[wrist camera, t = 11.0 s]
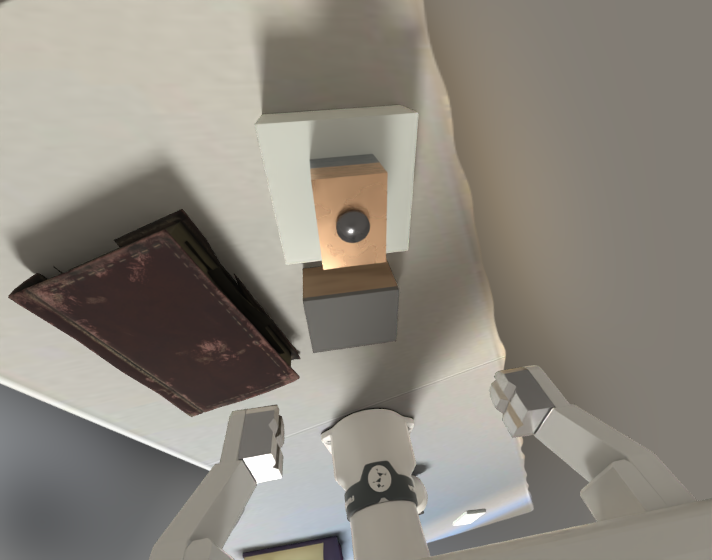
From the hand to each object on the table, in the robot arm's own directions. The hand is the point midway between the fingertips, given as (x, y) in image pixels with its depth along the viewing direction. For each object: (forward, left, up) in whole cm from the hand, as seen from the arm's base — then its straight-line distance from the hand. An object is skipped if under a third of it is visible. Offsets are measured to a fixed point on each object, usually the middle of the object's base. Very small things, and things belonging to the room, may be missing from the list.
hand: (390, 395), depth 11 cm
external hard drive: (-130, -40, -24) cm, 138 cm away
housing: (0, 0, -18) cm, 18 cm away
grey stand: (+1, 0, -23) cm, 23 cm away
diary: (-15, +19, -24) cm, 34 cm away
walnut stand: (-13, 0, -23) cm, 27 cm away
